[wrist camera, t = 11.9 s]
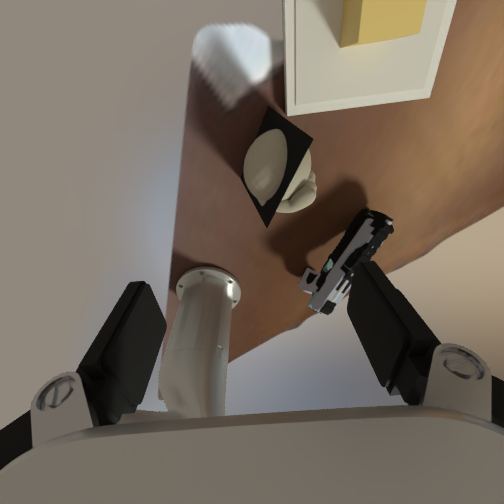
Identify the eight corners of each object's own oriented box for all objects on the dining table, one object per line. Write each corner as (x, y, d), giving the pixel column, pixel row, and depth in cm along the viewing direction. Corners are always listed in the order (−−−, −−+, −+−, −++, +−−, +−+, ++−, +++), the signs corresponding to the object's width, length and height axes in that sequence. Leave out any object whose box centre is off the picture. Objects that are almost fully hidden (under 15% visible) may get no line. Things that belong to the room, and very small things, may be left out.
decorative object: (313, 127, 32) (281, 190, 37) (248, 97, 28) (222, 173, 33) (369, 163, 23) (317, 238, 29) (287, 127, 19) (244, 224, 24)
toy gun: (358, 207, 42) (402, 223, 32) (303, 288, 46) (328, 323, 37) (348, 201, 41) (390, 215, 31) (293, 284, 46) (315, 318, 36)
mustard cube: (391, 40, 24) (419, 33, 20) (340, 48, 24) (358, 43, 20) (403, -36, 21) (440, -63, 17) (345, -26, 21) (368, -49, 17)
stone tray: (419, 96, 28) (430, 97, 27) (285, 113, 29) (287, 116, 28) (480, -143, 19) (504, -165, 17) (279, -105, 20) (282, -123, 18)
